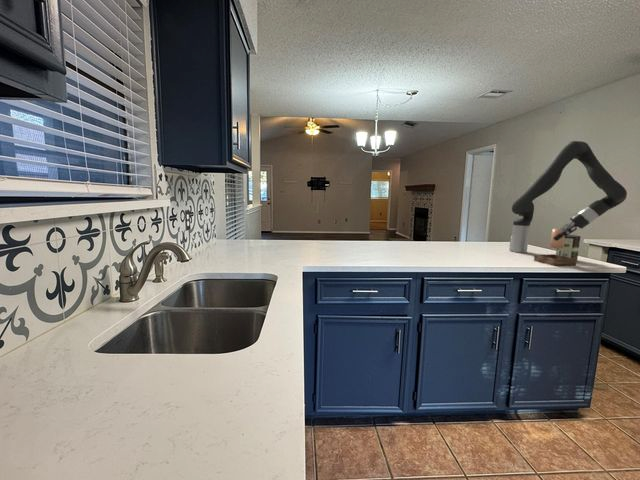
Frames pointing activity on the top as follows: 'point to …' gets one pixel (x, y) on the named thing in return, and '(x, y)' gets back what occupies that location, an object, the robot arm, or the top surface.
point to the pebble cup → (559, 242)
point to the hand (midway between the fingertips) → (553, 238)
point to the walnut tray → (555, 260)
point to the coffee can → (570, 247)
